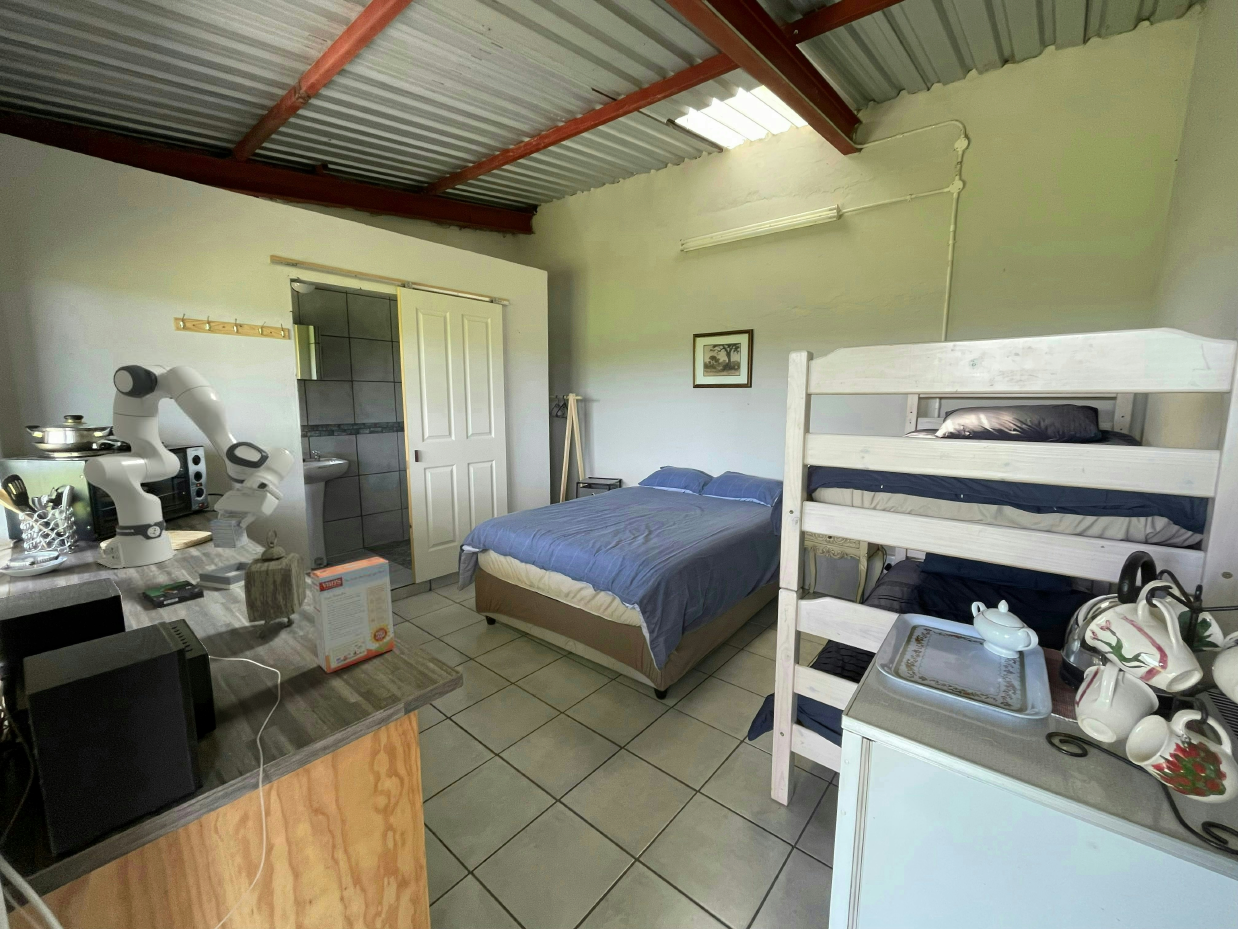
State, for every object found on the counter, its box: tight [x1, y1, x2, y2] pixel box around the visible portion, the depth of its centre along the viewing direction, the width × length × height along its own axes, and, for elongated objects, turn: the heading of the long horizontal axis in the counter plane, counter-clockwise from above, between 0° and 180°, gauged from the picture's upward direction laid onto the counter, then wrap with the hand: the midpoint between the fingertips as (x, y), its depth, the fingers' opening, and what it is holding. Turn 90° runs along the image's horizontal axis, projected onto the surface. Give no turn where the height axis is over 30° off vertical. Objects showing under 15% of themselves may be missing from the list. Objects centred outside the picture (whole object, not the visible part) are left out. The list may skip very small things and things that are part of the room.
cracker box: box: [310, 556, 395, 674], centre depth 105 cm, size 14×6×21 cm, turn 138°
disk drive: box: [141, 579, 205, 609], centre depth 140 cm, size 10×3×15 cm
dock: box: [195, 560, 252, 590], centre depth 154 cm, size 14×14×4 cm
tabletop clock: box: [243, 528, 307, 639], centre depth 120 cm, size 14×9×25 cm, turn 21°
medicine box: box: [209, 517, 249, 549], centre depth 152 cm, size 8×4×9 cm, turn 83°
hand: (229, 525), depth 152 cm, fingers closed on medicine box, 8 cm apart
